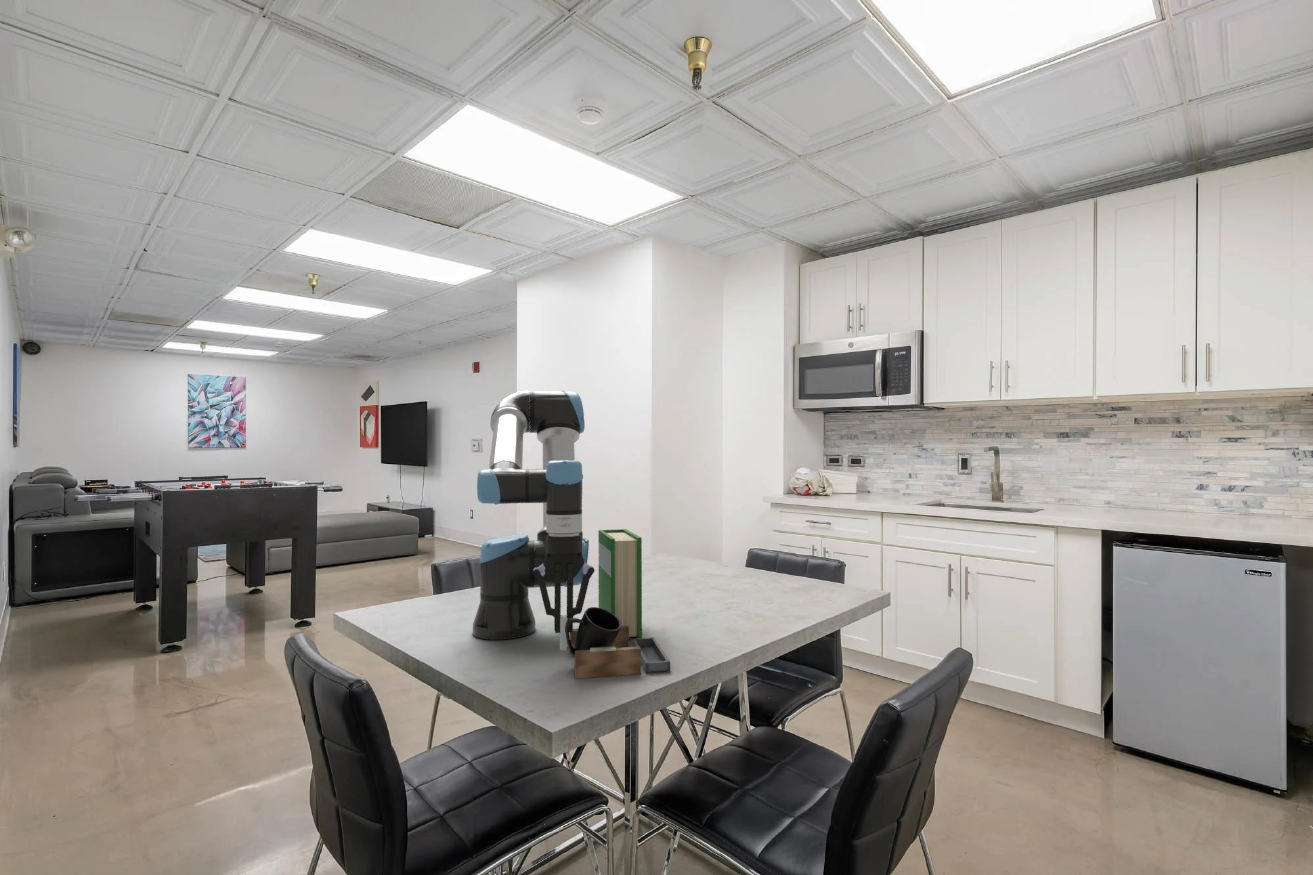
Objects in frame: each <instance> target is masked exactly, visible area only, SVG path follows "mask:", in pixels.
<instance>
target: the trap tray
mask: <svg viewBox="0 0 1313 875" xmlns="http://www.w3.org/2000/svg"><path fill="white" fill-rule="evenodd" d="M631 641H632V646H631V647H638V646H640V648H641V668H642V669H643V671H644V673H645V674H646V673H647V674H657V673H658V674H660V673H668V672H667V671H670V672H671V661H670V660H669V658H668V656H667V655H666V653H665V652H664V650H663V649H662V647H661V646H660V644H659V643H658V641H657V640H656V638H655V637H642V638H632V640H631ZM659 672H660V673H659Z"/></svg>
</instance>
